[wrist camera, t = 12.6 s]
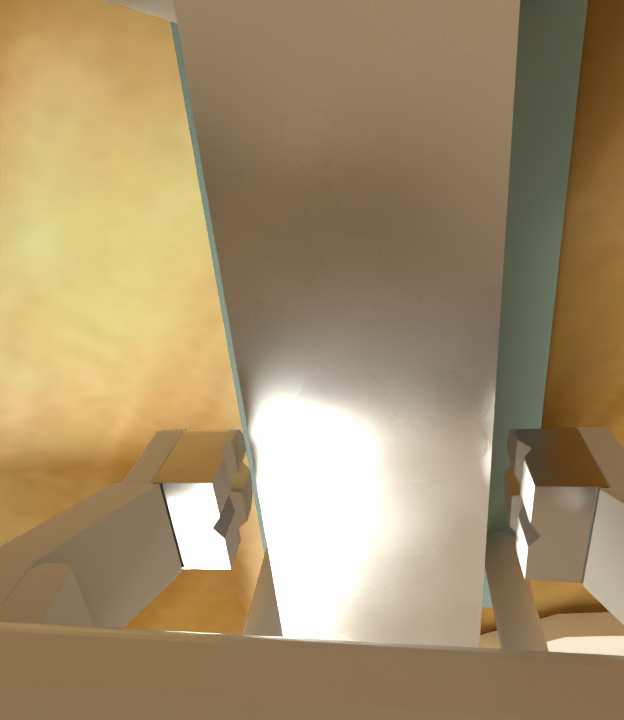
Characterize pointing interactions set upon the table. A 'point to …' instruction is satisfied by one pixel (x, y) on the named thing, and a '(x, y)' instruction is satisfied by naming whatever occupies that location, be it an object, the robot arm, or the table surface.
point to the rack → (519, 288)
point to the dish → (576, 634)
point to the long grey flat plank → (362, 291)
